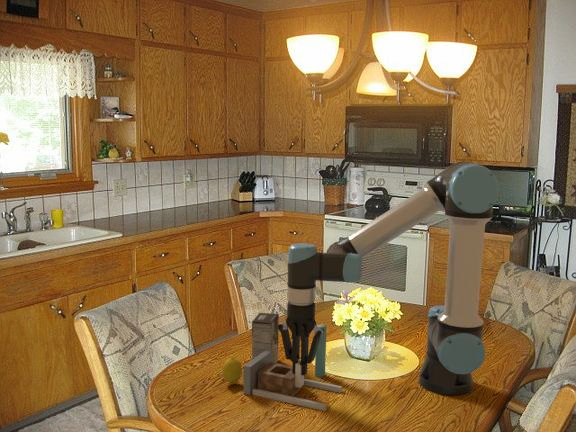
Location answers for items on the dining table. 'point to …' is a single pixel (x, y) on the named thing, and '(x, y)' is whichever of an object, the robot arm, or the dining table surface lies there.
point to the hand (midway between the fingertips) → (299, 385)
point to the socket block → (277, 379)
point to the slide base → (252, 387)
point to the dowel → (321, 354)
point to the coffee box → (265, 334)
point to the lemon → (232, 370)
